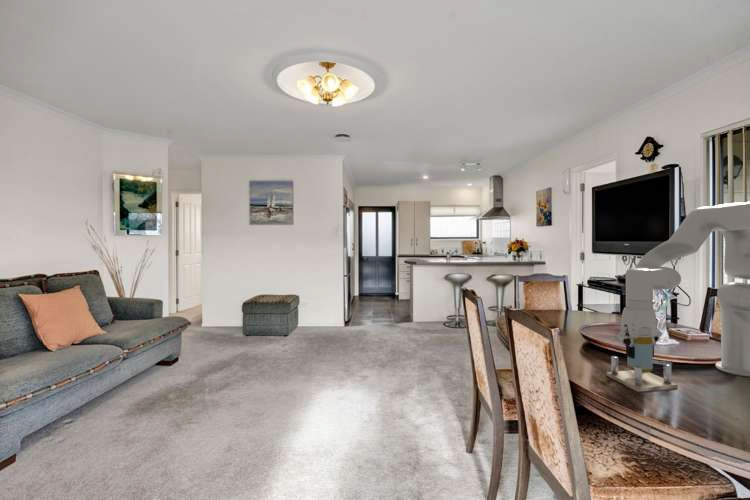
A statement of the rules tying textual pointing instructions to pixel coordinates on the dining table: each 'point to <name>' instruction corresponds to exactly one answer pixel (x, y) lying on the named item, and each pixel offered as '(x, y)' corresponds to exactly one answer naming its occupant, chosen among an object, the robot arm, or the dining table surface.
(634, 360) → the bottle
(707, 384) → the dining table surface
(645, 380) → the holder base
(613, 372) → the holder pins
